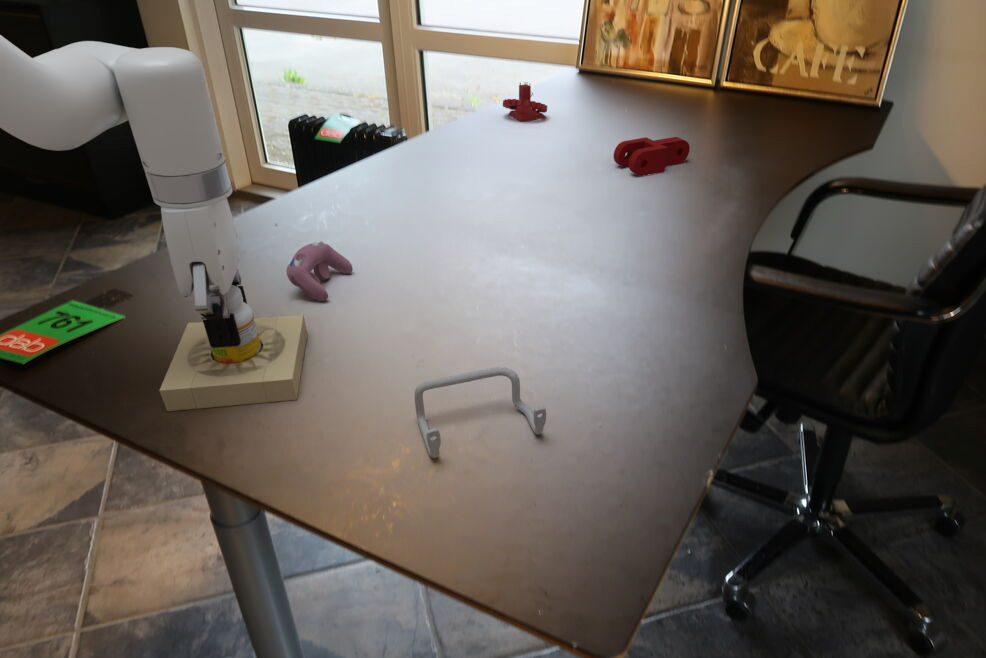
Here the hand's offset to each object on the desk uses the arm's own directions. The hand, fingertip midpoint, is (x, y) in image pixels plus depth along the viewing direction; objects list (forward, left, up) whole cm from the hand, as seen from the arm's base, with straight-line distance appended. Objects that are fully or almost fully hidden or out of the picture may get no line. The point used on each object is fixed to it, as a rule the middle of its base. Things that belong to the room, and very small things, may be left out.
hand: (230, 329), depth 82 cm
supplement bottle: (0, 0, -5) cm, 5 cm away
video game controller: (+8, +20, -6) cm, 22 cm away
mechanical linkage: (+72, +62, -6) cm, 95 cm away
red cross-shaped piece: (+51, +99, -6) cm, 112 cm away
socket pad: (0, 0, -6) cm, 6 cm away
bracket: (+27, -16, -6) cm, 32 cm away
